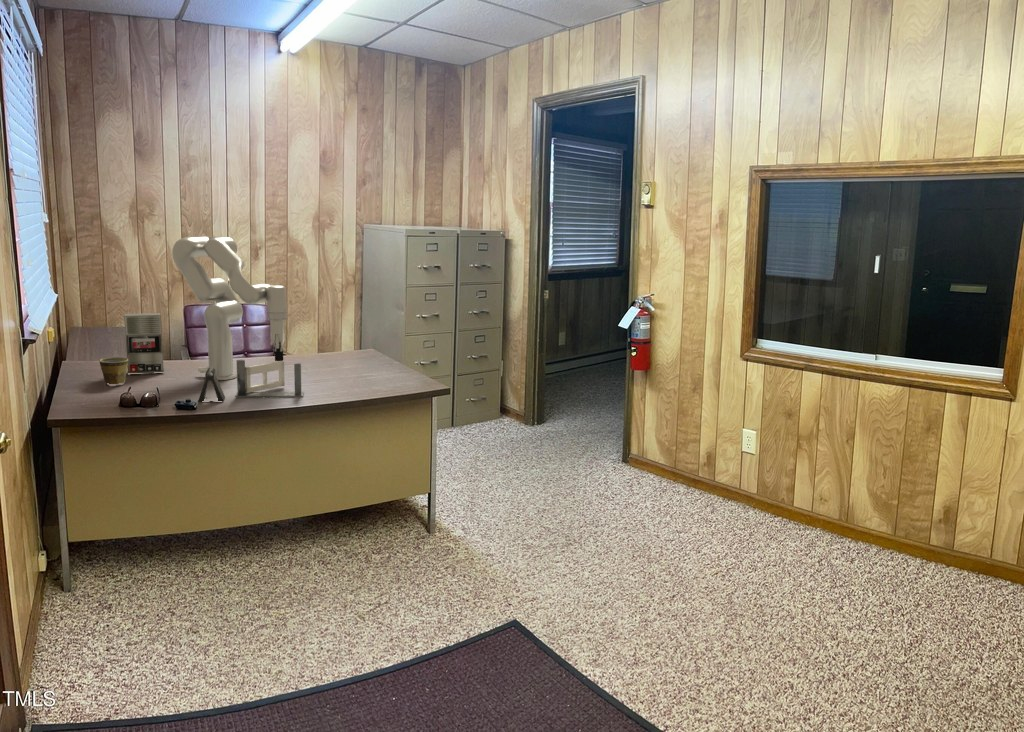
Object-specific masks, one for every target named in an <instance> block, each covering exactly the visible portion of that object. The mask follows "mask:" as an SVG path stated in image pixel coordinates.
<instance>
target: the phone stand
mask: <svg viewBox="0 0 1024 732" xmlns="http://www.w3.org/2000/svg"><path fill="white" fill-rule="evenodd" d="M209 370H210V368H208V370H207V372H205V374H204V377H205V376H206V378H205V379H204V380H205V381H204V382H203V386H202V389H201V392H200V395H199V397H198V400H197V403H198V402H202V401H204V399H205V398H206V394H207V390H208V386H209V383H210V381H211V383H212V387H213V389H214V392H215V395H216V397H217V398H218V401H225V399H226V396H225V394H224V391H223V388H222V387H221V384H220V382H219V380H217V377H216V374H215V373H216V370H215V369H214V368H212V370H211V372H212V373H213V375H210V374H209V373H208V372H209Z"/></svg>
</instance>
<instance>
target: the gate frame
mask: <svg viewBox="0 0 1024 732" xmlns="http://www.w3.org/2000/svg"><path fill="white" fill-rule="evenodd" d="M293 365H294V369H293V370H294V391H255V392H250V393H246V383H245V367H246V360H245V359H237V360H236V373H237V377H236V383H237V384H236V386H237V388H236V389H237V391H236V394H235V396H234V397H236V398H235V399H263V397H265V398H264V399H270V398H269V397H275V398H274V399H277V398H276V397H303V398H304V394H305V391H302V362H300V361H299V362H294V363H293ZM266 397H268V398H266Z"/></svg>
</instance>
